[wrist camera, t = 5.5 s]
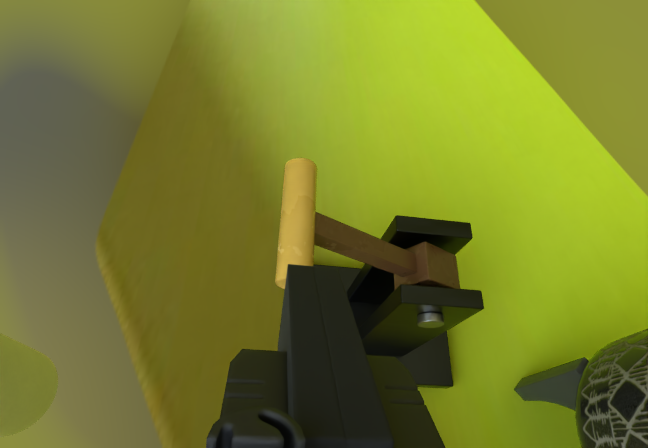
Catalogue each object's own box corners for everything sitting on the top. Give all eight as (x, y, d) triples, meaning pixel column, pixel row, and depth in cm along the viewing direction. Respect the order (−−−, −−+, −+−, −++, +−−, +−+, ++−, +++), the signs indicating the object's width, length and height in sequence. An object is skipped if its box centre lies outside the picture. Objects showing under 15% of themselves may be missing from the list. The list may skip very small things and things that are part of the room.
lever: (262, 287, 18) (295, 272, 16) (273, 171, 21) (303, 148, 19) (429, 333, 24) (465, 325, 23) (420, 239, 27) (452, 226, 25)
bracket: (294, 381, 32) (324, 338, 20) (300, 268, 36) (328, 176, 24) (446, 388, 33) (562, 353, 21) (435, 279, 37) (525, 199, 25)
